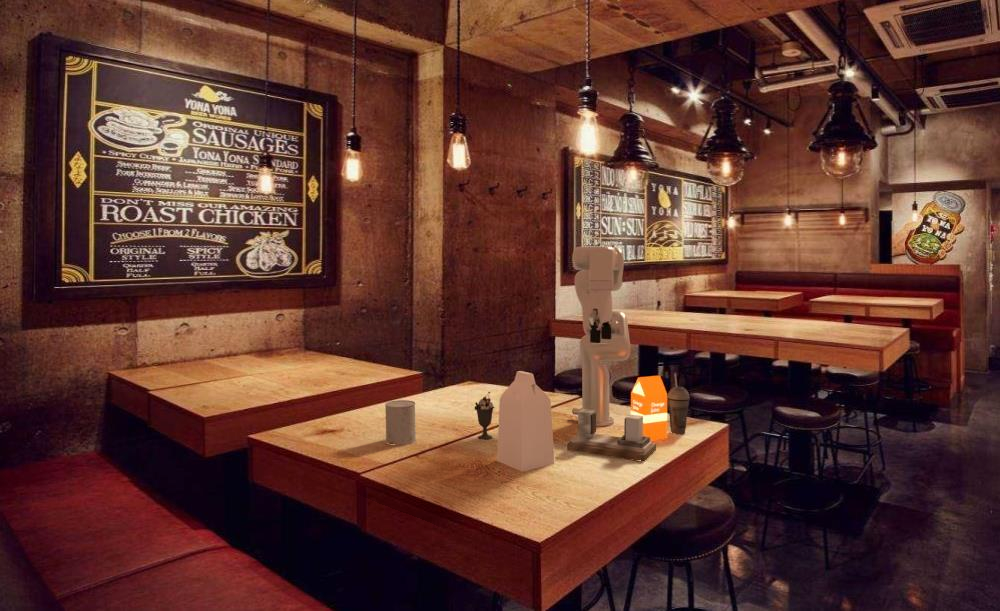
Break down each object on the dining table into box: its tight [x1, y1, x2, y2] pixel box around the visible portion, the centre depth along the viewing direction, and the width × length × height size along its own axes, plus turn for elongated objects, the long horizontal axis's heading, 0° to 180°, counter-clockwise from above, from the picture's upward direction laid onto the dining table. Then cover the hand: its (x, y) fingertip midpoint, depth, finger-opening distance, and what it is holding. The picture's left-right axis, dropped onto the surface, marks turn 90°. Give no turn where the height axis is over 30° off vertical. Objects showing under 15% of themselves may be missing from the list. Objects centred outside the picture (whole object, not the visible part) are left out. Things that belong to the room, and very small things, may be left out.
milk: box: [496, 370, 555, 473], centre depth 181 cm, size 12×12×26 cm
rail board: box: [566, 409, 657, 462], centre depth 192 cm, size 24×12×11 cm, turn 61°
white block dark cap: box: [623, 414, 643, 442], centre depth 189 cm, size 4×4×8 cm
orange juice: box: [630, 375, 668, 442], centre depth 205 cm, size 8×9×20 cm
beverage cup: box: [667, 372, 691, 435], centre depth 211 cm, size 7×7×20 cm
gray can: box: [384, 399, 417, 446], centre depth 204 cm, size 10×10×12 cm
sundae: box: [474, 391, 496, 441], centre depth 207 cm, size 7×7×15 cm
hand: (600, 340), depth 199 cm, fingers open, 9 cm apart
